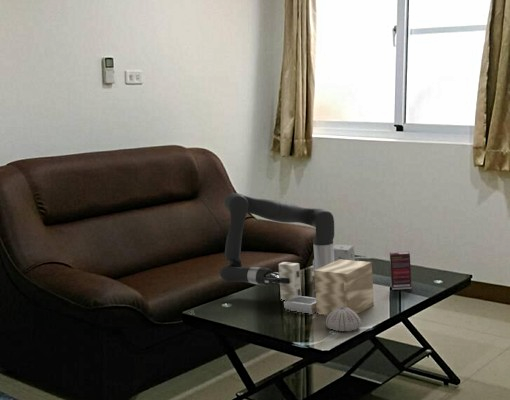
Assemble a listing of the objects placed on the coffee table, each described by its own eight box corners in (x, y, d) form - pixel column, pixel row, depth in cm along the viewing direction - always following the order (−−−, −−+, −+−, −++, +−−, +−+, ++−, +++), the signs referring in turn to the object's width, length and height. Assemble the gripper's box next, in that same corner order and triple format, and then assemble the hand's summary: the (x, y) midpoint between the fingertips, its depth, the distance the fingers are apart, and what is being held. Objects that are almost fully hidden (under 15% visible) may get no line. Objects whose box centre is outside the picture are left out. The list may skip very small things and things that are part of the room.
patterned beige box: (312, 313, 321) (309, 269, 318) (337, 300, 337) (335, 258, 334) (349, 318, 311) (346, 273, 308) (373, 304, 327) (371, 262, 324)
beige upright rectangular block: (280, 300, 341) (278, 264, 339) (286, 297, 345) (283, 261, 342) (298, 302, 336) (296, 265, 333) (303, 300, 339) (301, 263, 337)
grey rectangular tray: (284, 310, 327) (283, 301, 327) (297, 304, 335) (296, 295, 334) (311, 314, 319) (311, 305, 319) (324, 308, 327) (323, 298, 326)
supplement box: (410, 286, 350) (409, 251, 348) (411, 289, 346) (410, 253, 343) (390, 287, 351) (389, 252, 349) (391, 290, 347) (390, 254, 344)
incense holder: (330, 267, 394) (329, 247, 392) (338, 263, 401) (337, 243, 399) (348, 269, 388) (347, 248, 387) (356, 265, 395) (355, 244, 394)
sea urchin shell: (334, 321, 309) (333, 301, 308) (367, 324, 302) (366, 304, 301) (320, 332, 298) (318, 311, 297) (353, 335, 291) (352, 314, 290)
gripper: (249, 271, 343) (282, 275, 332) (269, 264, 354) (301, 267, 343) (251, 288, 344) (283, 292, 333) (270, 280, 355) (302, 284, 345)
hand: (292, 279), depth 338 cm, fingers closed on beige upright rectangular block, 4 cm apart
